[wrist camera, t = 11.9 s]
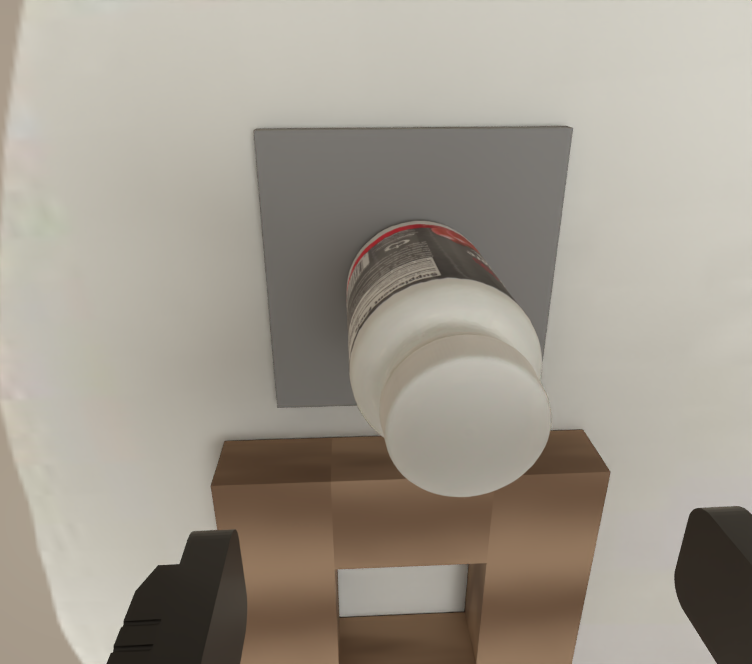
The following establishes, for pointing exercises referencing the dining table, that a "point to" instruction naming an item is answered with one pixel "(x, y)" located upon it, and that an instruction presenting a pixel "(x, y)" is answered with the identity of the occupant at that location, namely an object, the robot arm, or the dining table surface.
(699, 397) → the dining table surface
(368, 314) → the pill bottle
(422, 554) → the walnut dock
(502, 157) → the charcoal mat
